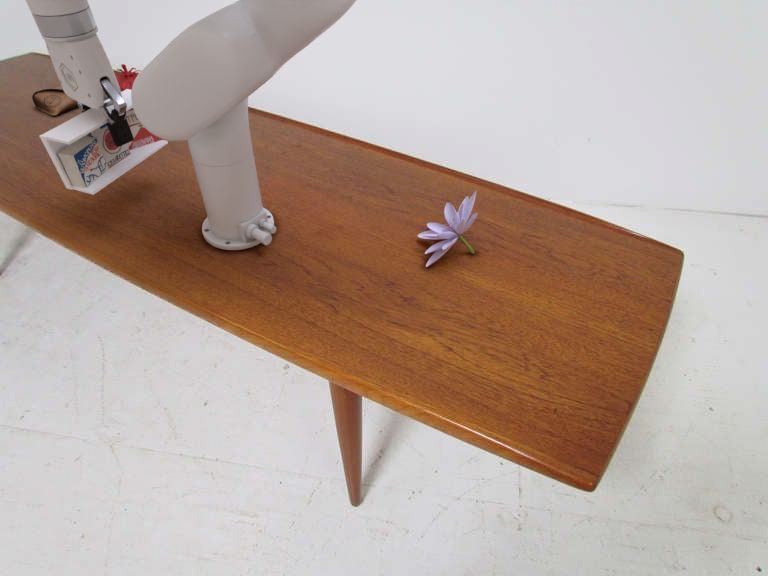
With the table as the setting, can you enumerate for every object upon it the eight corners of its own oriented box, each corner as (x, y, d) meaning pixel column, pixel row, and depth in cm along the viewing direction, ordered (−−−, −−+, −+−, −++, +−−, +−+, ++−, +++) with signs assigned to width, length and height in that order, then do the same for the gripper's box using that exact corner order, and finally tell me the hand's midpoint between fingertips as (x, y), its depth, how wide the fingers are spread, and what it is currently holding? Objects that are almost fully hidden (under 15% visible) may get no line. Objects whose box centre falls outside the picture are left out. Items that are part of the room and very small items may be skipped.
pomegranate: (133, 115, 120) (120, 76, 113) (106, 105, 123) (92, 66, 116) (166, 101, 126) (155, 63, 119) (139, 91, 129) (127, 54, 123)
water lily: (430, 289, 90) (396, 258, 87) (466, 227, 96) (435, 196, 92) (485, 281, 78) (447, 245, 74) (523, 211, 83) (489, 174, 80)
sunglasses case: (55, 115, 117) (35, 88, 114) (47, 123, 122) (28, 96, 119) (121, 90, 128) (105, 64, 125) (112, 97, 133) (96, 73, 130)
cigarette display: (92, 195, 81) (66, 142, 74) (66, 188, 82) (39, 135, 76) (172, 140, 94) (156, 90, 88) (149, 134, 96) (131, 86, 89)
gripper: (11, 17, 74) (64, 130, 86) (73, 42, 66) (122, 162, 79) (60, 5, 78) (104, 114, 91) (124, 28, 71) (162, 143, 83)
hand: (112, 135), depth 85 cm, fingers closed on cigarette display, 6 cm apart
